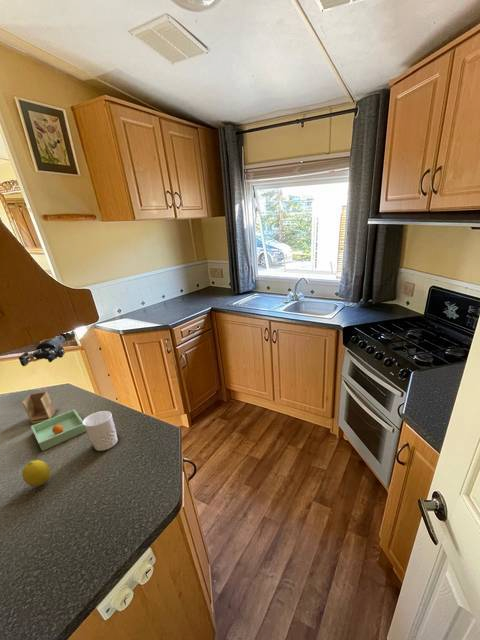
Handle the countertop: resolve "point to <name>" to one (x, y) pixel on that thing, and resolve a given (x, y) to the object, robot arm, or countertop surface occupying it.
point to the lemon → (36, 473)
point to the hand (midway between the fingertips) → (36, 361)
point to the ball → (57, 429)
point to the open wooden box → (39, 407)
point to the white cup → (101, 430)
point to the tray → (70, 429)
